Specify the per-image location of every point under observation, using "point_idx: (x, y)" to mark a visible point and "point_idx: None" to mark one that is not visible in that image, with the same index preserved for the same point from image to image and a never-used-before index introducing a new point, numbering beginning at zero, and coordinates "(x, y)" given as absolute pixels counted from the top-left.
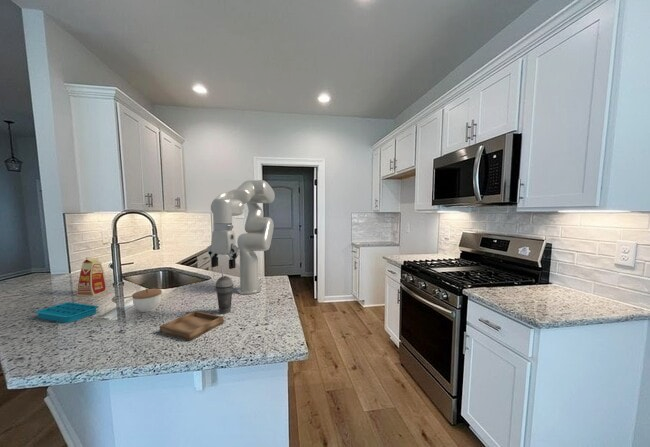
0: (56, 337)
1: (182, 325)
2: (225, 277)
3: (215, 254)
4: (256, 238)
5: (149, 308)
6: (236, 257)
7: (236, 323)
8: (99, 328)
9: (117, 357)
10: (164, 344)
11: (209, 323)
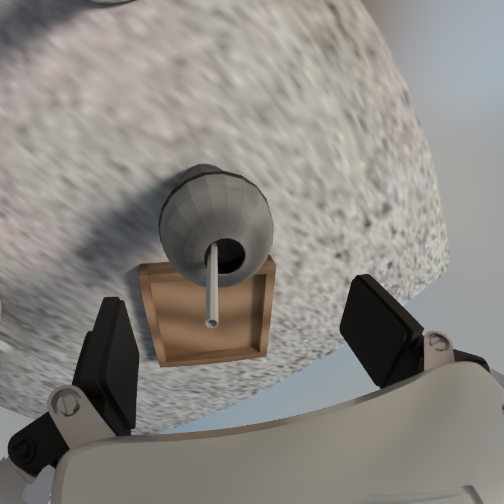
0: (40, 402)
1: (184, 328)
2: (247, 263)
3: (77, 431)
4: None
5: (1, 306)
6: (445, 340)
7: (310, 240)
8: (40, 376)
9: (192, 405)
10: (222, 368)
11: (270, 312)
